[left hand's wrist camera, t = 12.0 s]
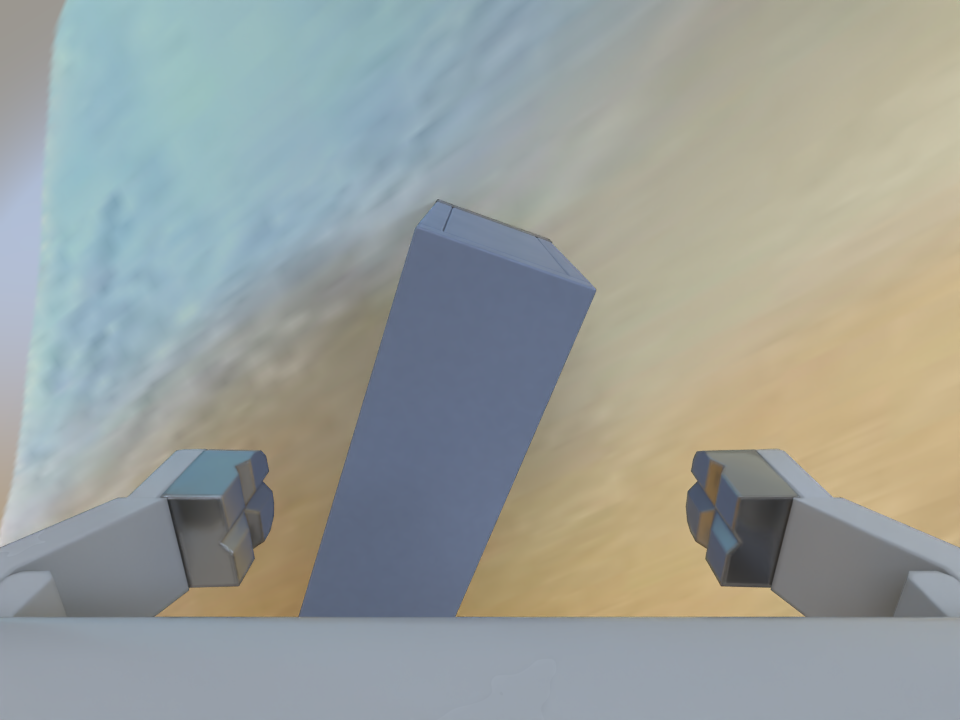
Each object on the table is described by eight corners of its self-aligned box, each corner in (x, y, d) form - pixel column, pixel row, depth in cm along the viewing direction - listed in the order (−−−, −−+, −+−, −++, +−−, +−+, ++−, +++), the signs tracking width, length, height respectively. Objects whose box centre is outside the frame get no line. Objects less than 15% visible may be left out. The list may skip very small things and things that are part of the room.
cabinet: (434, 533, 30) (418, 703, 21) (342, 508, 29) (281, 672, 20) (549, 239, 24) (598, 289, 15) (437, 199, 24) (415, 224, 14)
